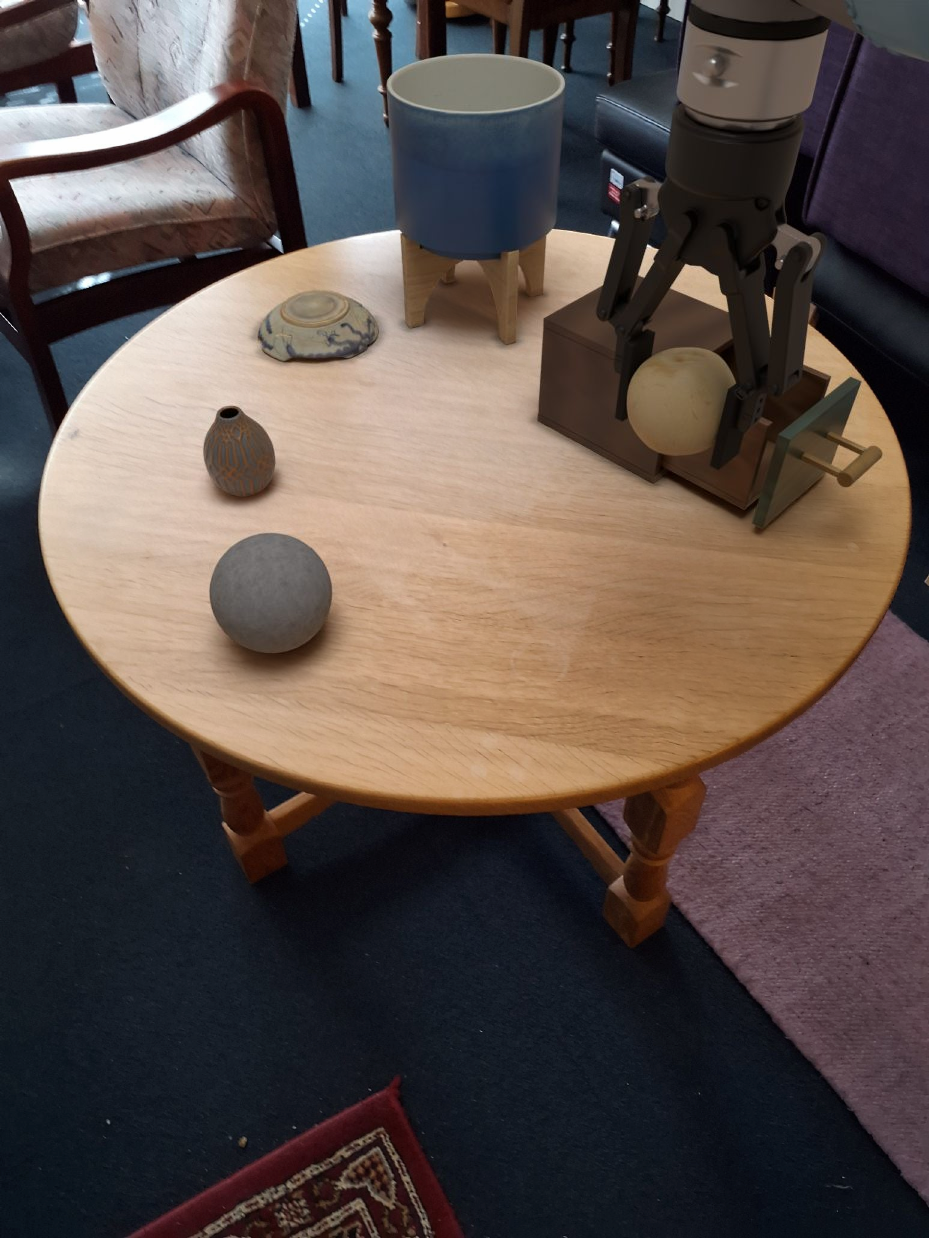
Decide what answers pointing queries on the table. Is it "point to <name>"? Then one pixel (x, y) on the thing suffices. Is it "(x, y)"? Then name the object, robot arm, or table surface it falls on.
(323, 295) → the decorative bowl
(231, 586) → the decorative ball
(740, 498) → the drawer
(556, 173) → the planter
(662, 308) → the cabinet
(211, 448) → the vase
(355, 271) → the table surface
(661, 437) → the apple
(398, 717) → the table surface
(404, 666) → the table surface
